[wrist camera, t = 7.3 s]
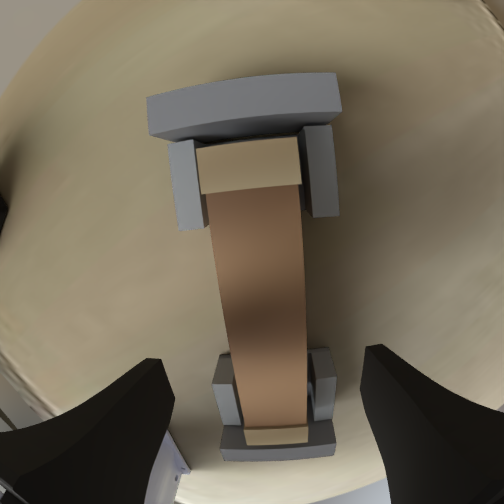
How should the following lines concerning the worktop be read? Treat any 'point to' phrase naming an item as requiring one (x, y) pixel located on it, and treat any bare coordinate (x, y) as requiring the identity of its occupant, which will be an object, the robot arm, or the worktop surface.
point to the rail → (261, 280)
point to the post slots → (311, 199)
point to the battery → (2, 211)
